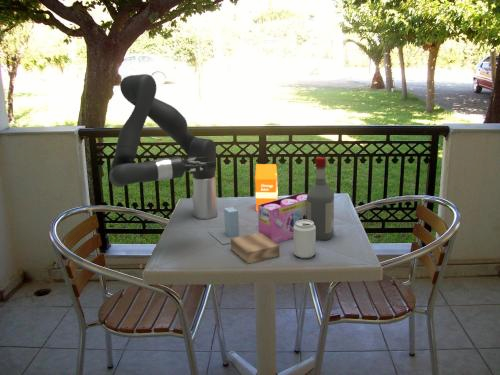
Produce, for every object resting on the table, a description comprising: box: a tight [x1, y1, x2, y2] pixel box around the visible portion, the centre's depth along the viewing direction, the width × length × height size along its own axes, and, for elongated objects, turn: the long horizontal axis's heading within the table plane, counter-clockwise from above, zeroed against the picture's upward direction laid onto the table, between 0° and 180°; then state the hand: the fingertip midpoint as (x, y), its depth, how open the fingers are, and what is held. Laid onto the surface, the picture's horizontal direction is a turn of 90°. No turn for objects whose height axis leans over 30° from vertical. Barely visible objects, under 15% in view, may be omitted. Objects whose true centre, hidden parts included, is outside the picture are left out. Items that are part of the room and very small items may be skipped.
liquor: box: [307, 156, 335, 242], centre depth 190 cm, size 9×9×30 cm
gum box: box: [257, 192, 308, 244], centre depth 196 cm, size 24×8×14 cm, turn 126°
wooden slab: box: [230, 232, 280, 265], centre depth 181 cm, size 12×14×4 cm
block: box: [223, 206, 240, 237], centre depth 197 cm, size 4×5×10 cm
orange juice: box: [254, 163, 279, 212], centre depth 224 cm, size 8×9×20 cm
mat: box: [208, 224, 254, 246], centre depth 198 cm, size 14×14×1 cm
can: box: [293, 220, 317, 259], centre depth 177 cm, size 8×8×12 cm
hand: (211, 161), depth 187 cm, fingers open, 8 cm apart
